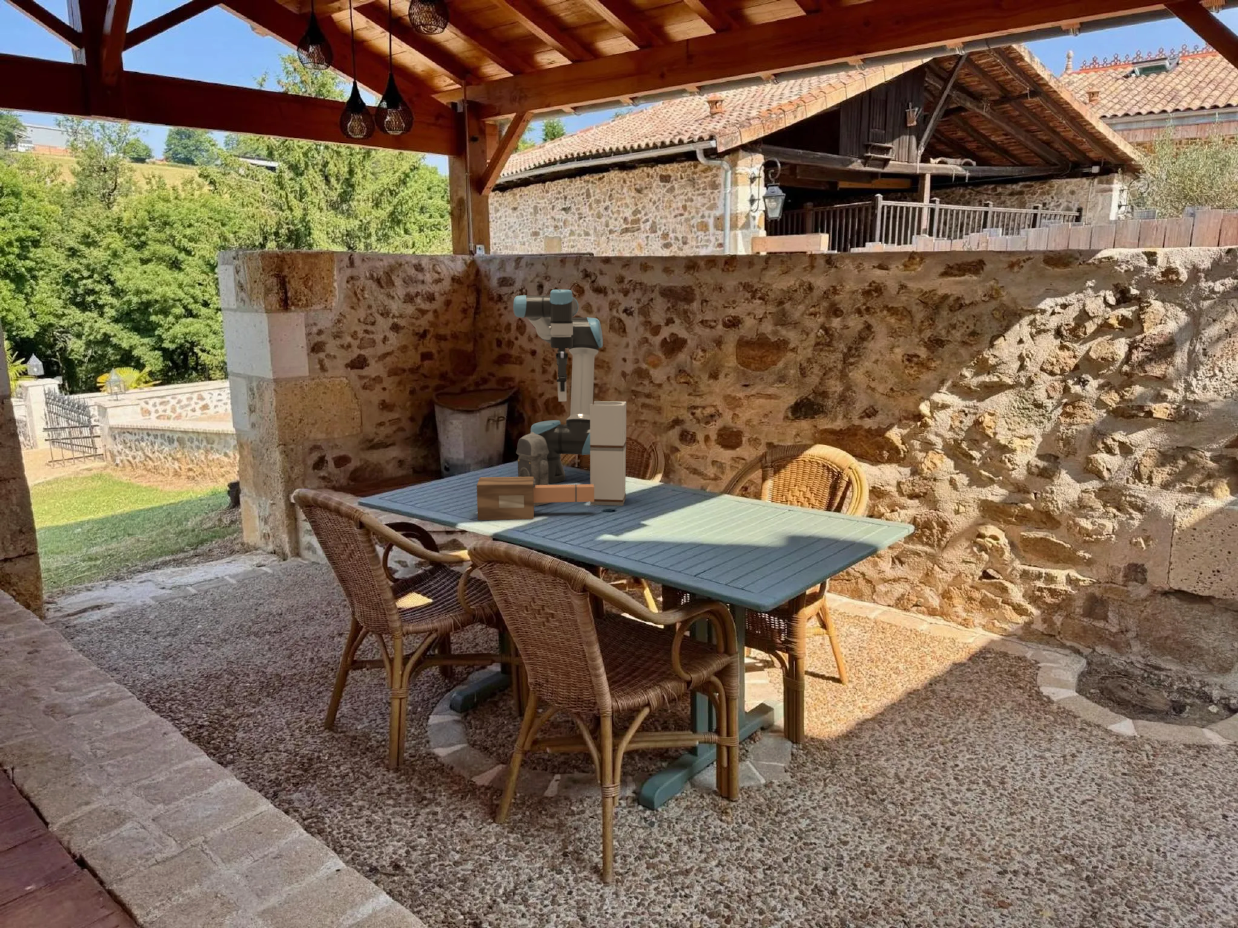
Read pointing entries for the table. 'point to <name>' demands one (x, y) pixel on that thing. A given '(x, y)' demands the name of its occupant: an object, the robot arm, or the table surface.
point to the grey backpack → (533, 459)
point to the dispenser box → (505, 498)
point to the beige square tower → (608, 452)
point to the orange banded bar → (563, 493)
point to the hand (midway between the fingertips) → (562, 398)
